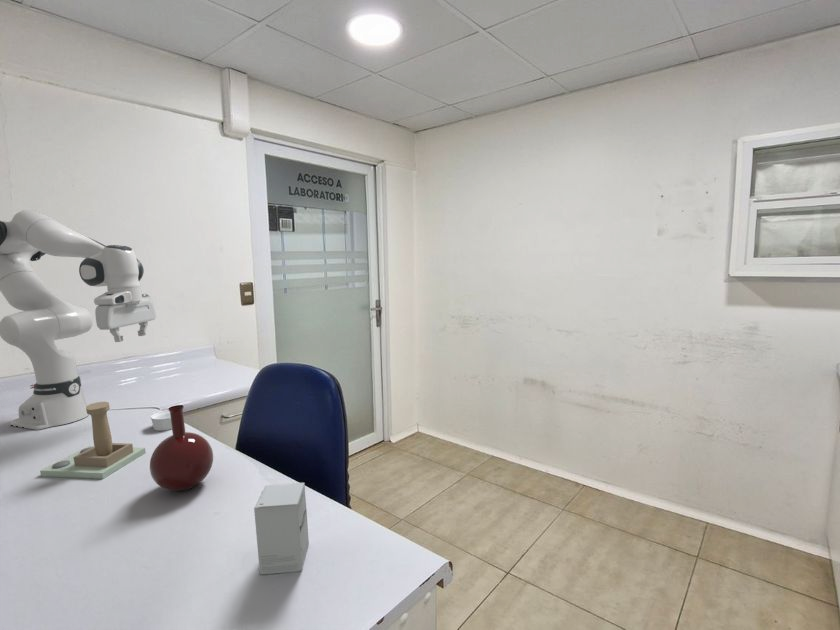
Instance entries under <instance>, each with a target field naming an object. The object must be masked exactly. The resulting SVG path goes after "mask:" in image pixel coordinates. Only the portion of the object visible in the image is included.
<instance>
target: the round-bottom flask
mask: <svg viewBox="0 0 840 630" xmlns="http://www.w3.org/2000/svg"><path fill="white" fill-rule="evenodd" d="M184 407H185V406H184V405H183V404H176V405H172V406H170V407H168V409H167V410H169V411H170V416H171V424H172V429H171V430H172V431H171V432H172V435H170V436H168V437H166V438H164V439H163V440H162V441H160V443H159V444H158V445H157V446H156V447H155V448H154V450H153V452H152V455H151V457H150V460H149V472H150V475H151V477H152V480H153V481H154V482H155V484H156V485H158V487H160V488H162V489H164V490H165V491H166V490H167V491H170V492H182V491H187V490H191V489H192V488H194V487H196V486H198V485H199V484H200V483H202V481H204V480H205V478H206V477H208V475H209V473H210V471H211V470H212V466H213V463H214V452H213V447H212V446H211V444H210V443H209V441H208V440H207V439H206V438H205V437H203V436H202V435H200V434H197V433H195V432H189V431H187V432H186V427H185V416H184Z"/></svg>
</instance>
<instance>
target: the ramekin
mask: <svg viewBox="0 0 840 630" xmlns="http://www.w3.org/2000/svg"><path fill="white" fill-rule="evenodd" d="M150 420H151V422H152V427H153V429H154V430H155V431H158V432H160V431H161V432H164V431H169V430H172V424H171V416H170V411H169V409H165V410H161V411H158V412H155V413H154V414H151V415H150Z"/></svg>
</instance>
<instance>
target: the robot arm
mask: <svg viewBox="0 0 840 630" xmlns="http://www.w3.org/2000/svg"><path fill="white" fill-rule="evenodd" d="M45 255H47V256H48V255H49V256H53V257H63V258H67V257H68V258H81V259H82V258H83V259H82V261H81V262H80V264H79V267H78V272H79V277H80V279H81V280H82V282H84V283H85V284H86V285H87V286H90V287H97V288H98V287H106V289H107V291H105V292H104V293H102V294H100V295H98V296H96V297H94V299H93V302H94V305H95V306H96V307H95V310H94V313H95V324H96V326H97V328H98V330H101V331H102V330H103V331H104V330H105V331H109V333H110V334H111V335H112V336H113V340H114V342H115V343H120V342H123V341H124V336H123V335H121V334H120V333H119V332H120V328H123V327H126V326H127V327H128V326H132V325H137V324H138V326H139V330H137V336H138V337H144V336H147V328H148V322H151V321H154V320H156V317H157V315H156V309H155V305H154V302H153V301H152V297H151V296H150V295H149V294H147V293H143V294H142V288H141V287H142V286H141V283H140V281H141V279H142V278H143V276H144V274H145V273H144V271H145V270H144V266H143V264H142V263H141V261H140V260H139V259H138V258H137V255H136V253H135V251H134V249H133V248H132V247H130V246H126V245H117V244H110V245H105V244H103V243H101V242H99V241H97V240H95V239H92V238H91V237H89V236H86V235H83V234H81V233H79V232H78V231H75V230H74V229H71V228H69V227H68V226H66V225H65V224H63V223H61V222H59V221H57V220H56V219H54V217H53V218H52V217H50V216H48V215H46V214H44V213H43V212H42V213H41V212H40V211H38V210H37V211H36V210H33V209H25V210H21V211H18V212H16V213H15V214H14V215H13V217H12V219H11V220H9V221H6V220H0V293H1V294H2V296H3V297H4V299H5V300H6V301H7V303H8V304H9V305H10V306H11V307H13V308H14V309H17V310H19V312H15V313H12V314H9V315H5V316H3V318H1V320H0V338H1V339H2V340H3V341H4V342H5V343H7V344H9V345H10V346H14V347H16V348H18V349H19V350H21V351H22V352H23V353H25V354H26V356H27V357H28V358H29V360H30V363H31V364H32V368H33V372H34V377H35V382H36V383H35V384H31V385H30V388H29V389H33V391H32V392H33V393H32V395H31V396H29V398H27V399H26V400H25V401H24V402H23V403H21V404H20V405H19V407H18V418H16V419H14V420H12V421H11V422H10V425H13V426H12V427H16V426H18V427H17V428H22V427H24V429H29V430H35V431H36V430H43V429H44V430H45V429H48V428H51V427H56V426H62V425H66V424H70V423H73V422H77V421H80V420H82V419H84V418H87V417H88V416H89V415H90V414H87V411H86V407H87V406H88V405H87V401H86V398H85V394H84V391H83V389H81V387H82V379H81V376H79V374H78V369H77V368H78V367H77V359H76V357H75V355H74V354H73V353H71V352H70V351H67V350H64V349H59V348H58V347H57V346H56V344H55V341H56V340H62V339H63V340H64V339H68V338H75V337H77V336H81V335H82V334H85V333H88V332H90V330H91V329H92V326H93V322H94V321H93V315H92V314H91V312H90V311H89V310H88V309H87V308H85V307H84V306H79V305H77V304H76V305H75V304H73V303H70V302H68V301H66V300H64V299H62V298H60V297H59V296H58V295H56V294H55V293H53V292H52V291H51V290H50V289H49V288H48V287H47V285H46V284H45V283H44V281H42V279H41V278H40V277H39V275H38V274H37V272H36V271H35V270H34V268H33V267H32V266H31V262H36V261H38V260H40V259H41V258H42V257H43V256H45Z"/></svg>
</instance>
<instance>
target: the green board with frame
mask: <svg viewBox="0 0 840 630" xmlns="http://www.w3.org/2000/svg"><path fill="white" fill-rule="evenodd" d="M112 452H113V453H111V454H109V455H108V456H98V455H97V454H96V451H95V446H94V445H88V446H86V447H84V448H82V449H80V450H78V451H76V452H74V453H72V454H70V455H68V456H66V457H64V458H62V459H59V460H58V461H56V462H54V463H52V464H50V465H48V466H46V467H44V468H43V469H41V470H39V472H40V476H41V477H51V478H52V477H57V478H74V479H75V478H76V479H78V478H79V479H82V478H83V479H102V480H104V479H105V478H107V477H109V476H111V475H112V474H114V473H115V472H117V471H118V470H120V469H122V468H123V467H125V466H127V465H129V464H131V461H132V462H134V461H135V460H136V459H138V458H140V457H141V456H143V455H145V454H146V453H147V452H146V447H135V446H134V445H133V443H126V442H125V443H119V442H116V443H115V442H112Z"/></svg>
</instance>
